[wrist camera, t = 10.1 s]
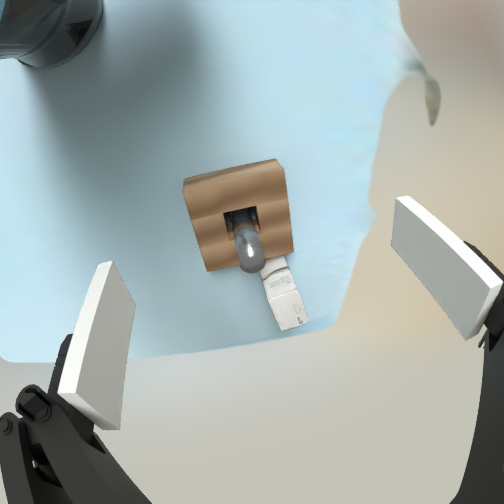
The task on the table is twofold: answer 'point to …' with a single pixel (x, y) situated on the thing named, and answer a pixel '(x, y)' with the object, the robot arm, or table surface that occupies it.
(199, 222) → the socket block
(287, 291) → the ink box
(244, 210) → the peg
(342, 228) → the table surface
